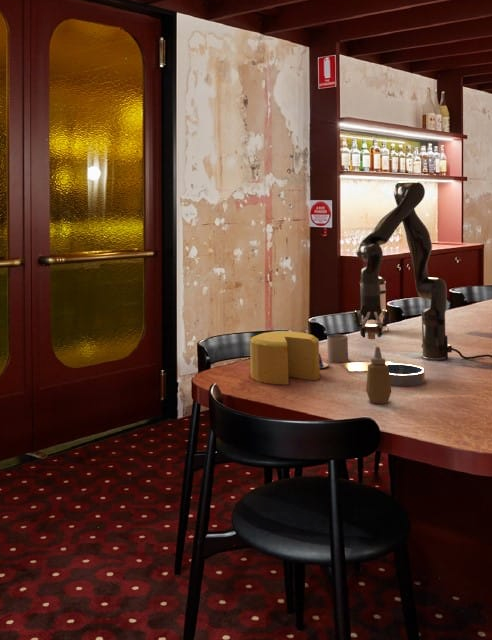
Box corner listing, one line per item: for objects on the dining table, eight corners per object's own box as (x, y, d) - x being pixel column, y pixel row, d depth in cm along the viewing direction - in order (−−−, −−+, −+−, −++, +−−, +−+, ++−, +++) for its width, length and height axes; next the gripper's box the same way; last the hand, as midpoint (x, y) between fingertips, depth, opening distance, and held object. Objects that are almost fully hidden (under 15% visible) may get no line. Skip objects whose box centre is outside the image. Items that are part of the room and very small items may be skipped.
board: (392, 364, 290) (392, 361, 290) (402, 372, 276) (402, 369, 276) (342, 365, 290) (342, 362, 290) (350, 373, 276) (350, 371, 276)
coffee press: (395, 333, 355) (393, 272, 355) (362, 334, 355) (360, 273, 355) (385, 327, 372) (384, 269, 372) (354, 328, 372) (353, 270, 372)
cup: (348, 362, 294) (347, 338, 294) (327, 362, 296) (327, 338, 296) (348, 358, 302) (347, 334, 302) (328, 358, 304) (327, 334, 304)
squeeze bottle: (363, 399, 241) (361, 345, 241) (386, 397, 241) (385, 344, 242) (371, 405, 233) (369, 349, 233) (395, 404, 233) (393, 348, 233)
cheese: (312, 386, 258) (311, 344, 258) (242, 382, 267) (241, 341, 267) (325, 370, 283) (324, 331, 283) (260, 366, 292) (259, 329, 292)
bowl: (416, 375, 270) (415, 363, 271) (431, 387, 253) (430, 374, 253) (370, 376, 271) (369, 364, 271) (382, 388, 253) (381, 375, 253)
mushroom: (376, 337, 285) (376, 324, 285) (380, 339, 280) (379, 326, 280) (362, 337, 285) (362, 324, 285) (366, 340, 280) (365, 326, 280)
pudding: (292, 365, 292) (292, 352, 292) (317, 362, 297) (317, 349, 297) (308, 371, 281) (308, 358, 281) (334, 368, 286) (333, 354, 286)
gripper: (354, 295, 279) (355, 339, 279) (391, 294, 279) (392, 338, 279) (350, 293, 286) (351, 335, 286) (386, 292, 286) (387, 335, 286)
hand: (371, 336), depth 283 cm, fingers closed on mushroom, 5 cm apart
